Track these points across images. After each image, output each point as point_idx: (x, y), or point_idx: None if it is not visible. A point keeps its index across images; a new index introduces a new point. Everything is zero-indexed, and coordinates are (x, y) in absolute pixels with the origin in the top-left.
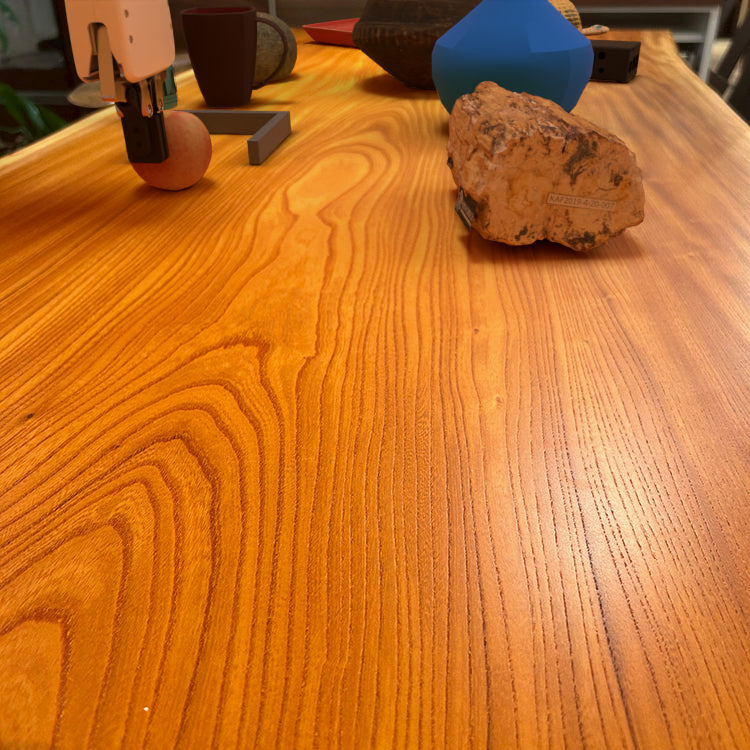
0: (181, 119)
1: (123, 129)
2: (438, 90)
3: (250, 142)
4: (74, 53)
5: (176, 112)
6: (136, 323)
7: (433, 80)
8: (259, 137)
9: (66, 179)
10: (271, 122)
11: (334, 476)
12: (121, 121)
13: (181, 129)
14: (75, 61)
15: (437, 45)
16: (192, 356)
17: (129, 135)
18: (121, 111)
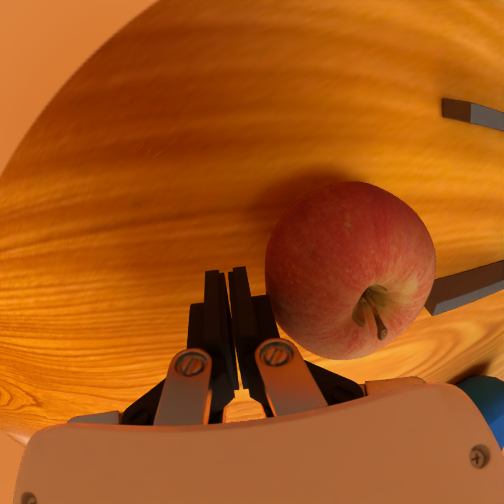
0: (336, 357)
1: (205, 316)
2: (475, 397)
3: (433, 306)
4: (14, 496)
5: (403, 316)
6: (5, 354)
7: (484, 398)
8: (445, 310)
9: (340, 15)
10: (498, 286)
11: (12, 418)
12: (203, 331)
13: (312, 352)
14: (18, 475)
15: (492, 421)
16: (11, 383)
17: (188, 330)
18: (164, 380)
